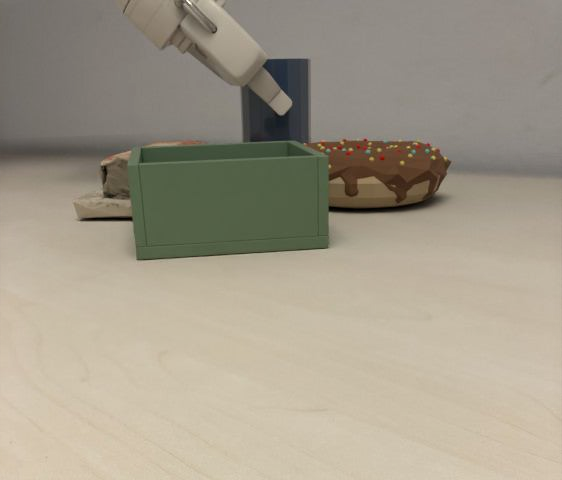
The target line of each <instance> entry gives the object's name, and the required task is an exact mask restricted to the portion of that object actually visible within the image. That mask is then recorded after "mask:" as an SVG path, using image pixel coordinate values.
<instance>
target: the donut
mask: <svg viewBox="0 0 562 480" xmlns="http://www.w3.org/2000/svg"><path fill="white" fill-rule="evenodd" d="M303 145H306V146H308V147H310V148H312V149H314V150H316V151H318V152H321V153H323V154H325V155H327V156H329V207H331V208H341V209H384V208H393V207H395V208H396V207H400V206H407V205H411V204H417V203H420V202H423V201H426V200H427V199H428V198H430V197H432V196H433V195H434V194H435V193H437V192H438V191H439V189H440V187H441V185H442V183H443V181H444V180H445V178H446V176H448V172H447V171H448V169H449V167H450V165H451V164H452V160H450V159H448V157H447V156H443V155H442V153H441V150H440V149H439V148H435V147H433V146H431V143H429V142H426V143H423V142H421V140H420V139H417V140H415V139H414V138H412V139H410V140H407V141H406V140H404V141H403V140H402V139H400V138H399V139H398V140H397V141H395V140H394V141H391V140H390V141H389V140H387V139H384V140H368V139H367V138H366V137H365V138H363V140H360V138H356V139H355V140H347V139H346V138H343V139H342V140H338V141H326V139H321V141H318V142H316V141H315V142H311V143H307V144H305V143H304V144H303Z"/></svg>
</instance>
